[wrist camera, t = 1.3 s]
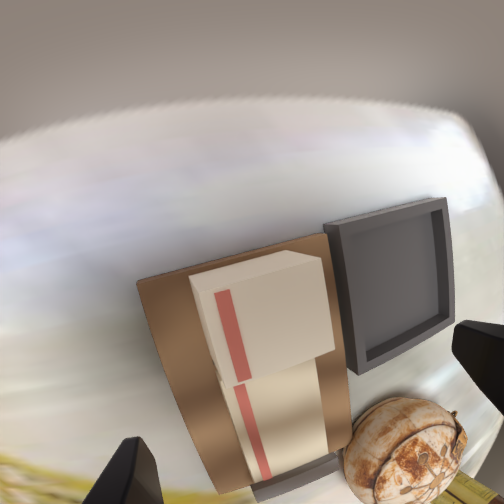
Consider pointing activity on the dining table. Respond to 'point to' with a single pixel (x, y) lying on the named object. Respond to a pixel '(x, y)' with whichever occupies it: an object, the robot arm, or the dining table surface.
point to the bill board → (199, 371)
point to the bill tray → (392, 279)
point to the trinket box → (403, 452)
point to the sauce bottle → (467, 492)
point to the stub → (264, 314)
